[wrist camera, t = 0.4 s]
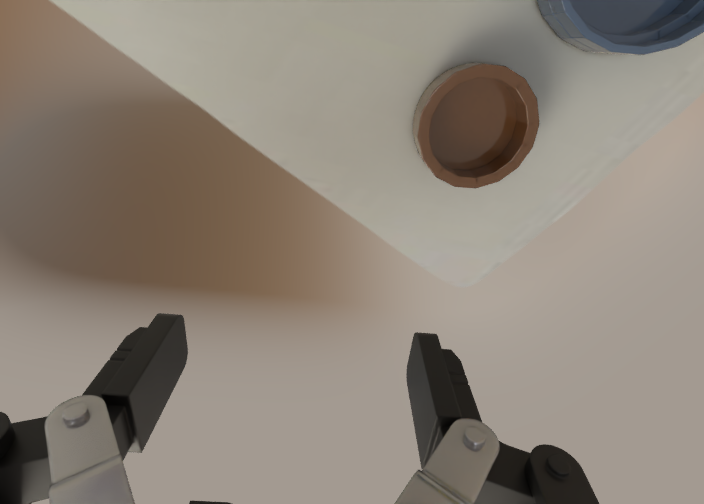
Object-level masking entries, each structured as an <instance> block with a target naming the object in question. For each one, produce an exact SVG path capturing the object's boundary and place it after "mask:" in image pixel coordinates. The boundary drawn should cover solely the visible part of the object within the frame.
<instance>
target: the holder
mask: <svg viewBox="0 0 704 504" xmlns="http://www.w3.org/2000/svg"><path fill="white" fill-rule="evenodd" d="M538 127H539V114H538V104H537V98H536V96H535V95H534V93H533V91H532V90H531V88H530V86H529V84H528V83H527V81H526V79H525V78H523V77H522V76H520V75H518V74H517V73H515V72H514V71H512V70H510V69H509V68H507V67H506V66H501V65H493V64H483V63H468V64H463V65H459V66H456V67H454V68H451V69H449V70H448V71H446V72H444V73H443V74H441V75H440V76H439V77H437V78H436V79H435V80H434V81H433V82H432V83H431V84H430V85H429V86H428V87H427V89H426V90H425V91H424V93H423V95H422V96H421V98H420V100H419V102H418V104H417V107H416V110H415V114H414V119H413V135H414V141H415V144H416V147H417V150H418V153H419V155H420V156H421V158H422V159H423V161H424V162H425V163H426V165H427V166H428V167H429V169H430V170H431V171H432V173H433V174H434V175H435V176H436V177H437V178H439V179H441V180H443V181H445V182H447V183H449V184H450V185H452V186H455V187H466V188H478V187H482V186H485V185H488V184H492V183H495V182H498V181H500V180H501V179H503V178H504V177H506V176H507V175H508V174H510V173H511V172H513V171H514V170H515V169H517V168H518V167H519V165H520V164H521V163H522V161H523V160H524V158H525V157H526V156H527V154H528V153H529V151H530V150H531V149H532V147H533V144H534V141H535V137H536V134H537V131H538Z"/></svg>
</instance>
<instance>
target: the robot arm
mask: <svg viewBox="0 0 704 504" xmlns="http://www.w3.org/2000/svg"><path fill="white" fill-rule="evenodd" d="M187 354H188V348H187V340H186V332H185V324H184V318H183V316H182V315H175V314H161V313H160V314H157V315H156V316H155V318H154V319H153V321H152V322H151V324H150V325H149V327H148V328H144V327H140V328H138V329H137V330H135V331H134V332H132V333H131V334H130V335H128V336H127V337H126V338H125V339H124V340H123V342H122V343H121V344H120V345H119V347H118V348H117V351H115V352H114V354H113V355H112V356H111V358H110V360H108V361H107V363H106V364H105V365H104V367H103V368H102V369H101V371H100V372H99V373H98V375H97V376H96V377H95V379H94V380H93V381H92V383H91V384H90V385H89V387H88V388H87V389H86V391H85V392H84V393H83V395H82V396H78V397H74V398H72V399H69V400H67V401H65V402H63V403H61V404H60V405H58V406H57V407H56V408H55V409H54V410H53V411H52V412H51V413H50V414H49V415H48V416H47V417H43V418H38V419H32V420H27V421H22V422H17V423H11V422H10V420H9V418H8V416H7V415H6V414H5V413H2V412H0V504H31V503H32V502H36V501H40V500H44V499H48V498H49V502H50V504H135V503H134V499H133V496H132V492H131V489H130V485H129V482H128V478H127V475H126V471H125V468H124V464H123V460H124V458H125V456H126V454H127V452H140V453H142V451H143V449H144V447H145V445H146V443H147V441H148V439H149V437H150V435H151V433H152V431H153V429H154V427H155V425H156V423H157V421H158V419H159V417H160V415H161V413H162V411H163V409H164V407H165V405H166V403H167V401H168V399H169V397H170V395H171V393H172V391H173V389H174V387H175V385H176V383H177V381H178V379H179V377H180V375H181V373H182V371H183V369H184V367H185V364H186V360H187ZM407 386H408V392H409V398H410V403H411V409H412V415H413V421H414V426H415V433H416V439H417V444H418V450H419V456H420V462H421V468H422V469H423V470H422V471H420V470H418V471H417V472H416V473H415V474H414V475H413V477H412V478H411V480H410V481H409V483H408V484H407V486H406V487H405V489H404V490H403V492H402V493H401V495H400V496H399V498H398V499H397V501H396V502H395V504H599V502H598V500H597V498H596V496H595V494H594V492H593V490H592V488H591V486H590V484H589V482H588V479H587V477H586V476H585V473H584V471H583V469H582V468H581V466H580V465H579V463H578V462H577V461H576V460H575V459H574V458H573V457H572V456H571V455H570V454H568V453H567V452H565V451H564V450H562V449H560V448H558V447H555V446H552V445H539V446H536V447H535V448H534V449H533V450H532V452H531V453H528V452H525V451H522V450H519V449H517V448H514V447H511V446H508V445H506V444H503V443H502V442H500V441H499V440H498V438H497V436H496V435H495V433H494V432H493V431H492V430H491V429H490V428H489V427H488V426H487V425H485V424H484V423H482V420H481V418H480V415H479V412H478V409H477V406H476V403H475V401H474V398H473V395H472V392H471V389H470V386H469V385H468V381H467V378H466V375H465V372H464V369H463V366H462V363H461V361H460V359H459V358H458V357H457V356H456V355H455V354H454V353H453V351H452V350H447V349H441V346H440V343H439V339H438V336H437V334H430V333H429V334H428V333H415V334H414V337H413V341H412V346H411V351H410V355H409V360H408V365H407ZM189 504H231V503H227V502H206V501H190V503H189Z"/></svg>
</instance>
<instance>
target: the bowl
mask: <svg viewBox="0 0 704 504" xmlns="http://www.w3.org/2000/svg"><path fill="white" fill-rule="evenodd" d="M537 2H538V5H539V8H540V11H541V14H542V15H543V17H544V19H545V20H546V21H547V22H548V24H549V25H550V26H551V27H552V29H553V30H554V31H555V32H556V34H557V35H558V36H559V37H560V38H561V39H563V40H565V41H566V42H568V43H570V44H572V45H574V46H576V47H578V48H580V49H581V50H583V51H587V52H597V53H607V54H627V55H645V54H649V53H653V52H657V51H662V50H666V49H670V48H674V47H677V46H679V45H681V44H683V43H685V42H687V41H688V40H690V39H692V38H694V37H696V36H697V35H699V34H701V33H703V32H704V0H537Z"/></svg>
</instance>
